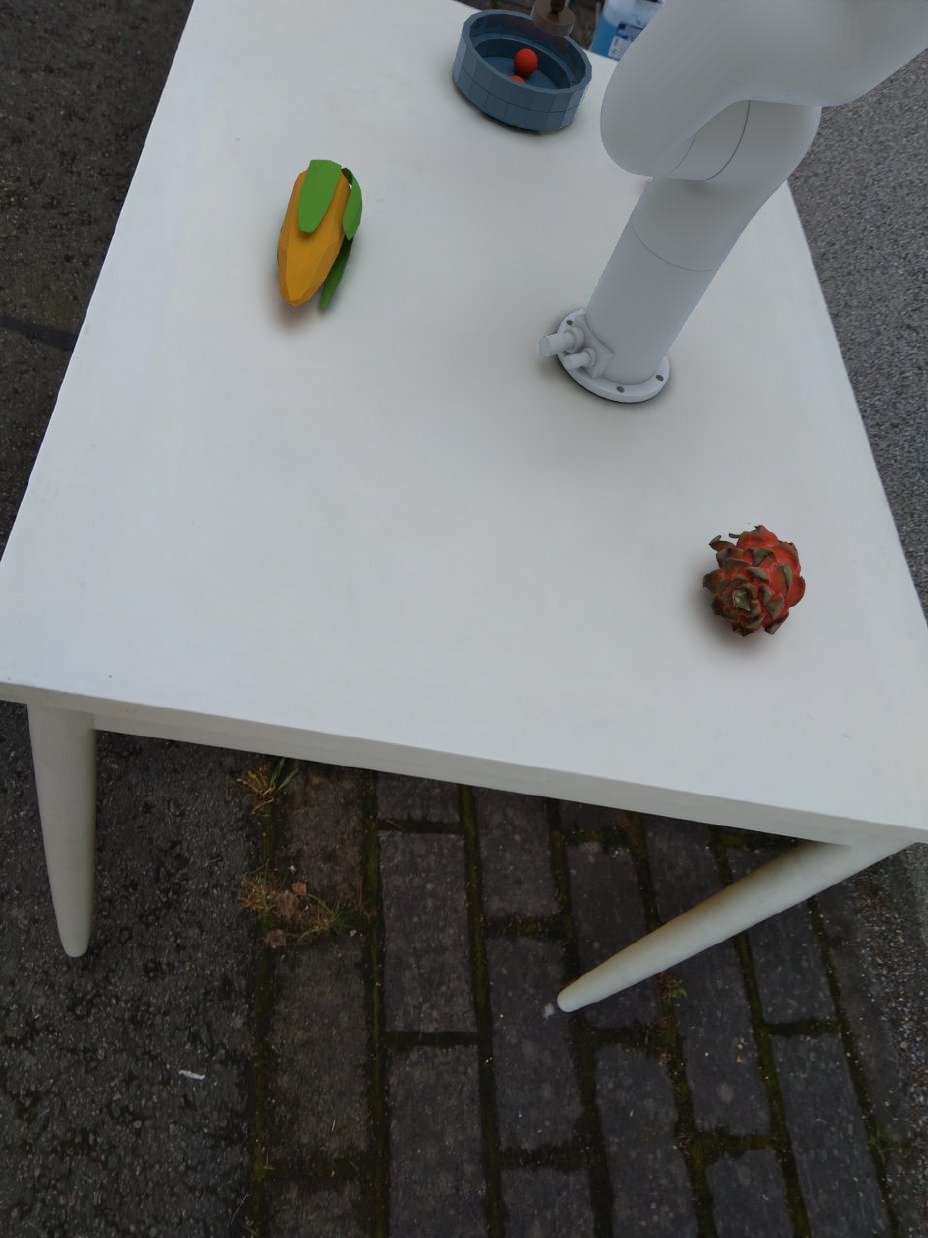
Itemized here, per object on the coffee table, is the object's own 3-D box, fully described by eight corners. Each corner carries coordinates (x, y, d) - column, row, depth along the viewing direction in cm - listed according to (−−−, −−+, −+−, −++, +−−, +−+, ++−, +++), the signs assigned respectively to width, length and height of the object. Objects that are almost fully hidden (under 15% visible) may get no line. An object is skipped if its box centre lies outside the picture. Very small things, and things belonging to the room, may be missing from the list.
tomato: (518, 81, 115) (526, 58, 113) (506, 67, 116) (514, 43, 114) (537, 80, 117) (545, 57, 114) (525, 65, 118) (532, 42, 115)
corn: (374, 145, 89) (340, 276, 79) (366, 213, 96) (334, 342, 85) (300, 127, 88) (255, 257, 78) (297, 196, 95) (255, 325, 84)
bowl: (494, 141, 109) (508, 97, 104) (427, 56, 114) (437, 10, 110) (599, 129, 117) (617, 88, 112) (532, 50, 122) (546, 7, 117)
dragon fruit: (704, 660, 81) (718, 572, 89) (805, 661, 77) (810, 570, 85) (693, 589, 76) (708, 503, 84) (801, 587, 72) (806, 497, 80)
